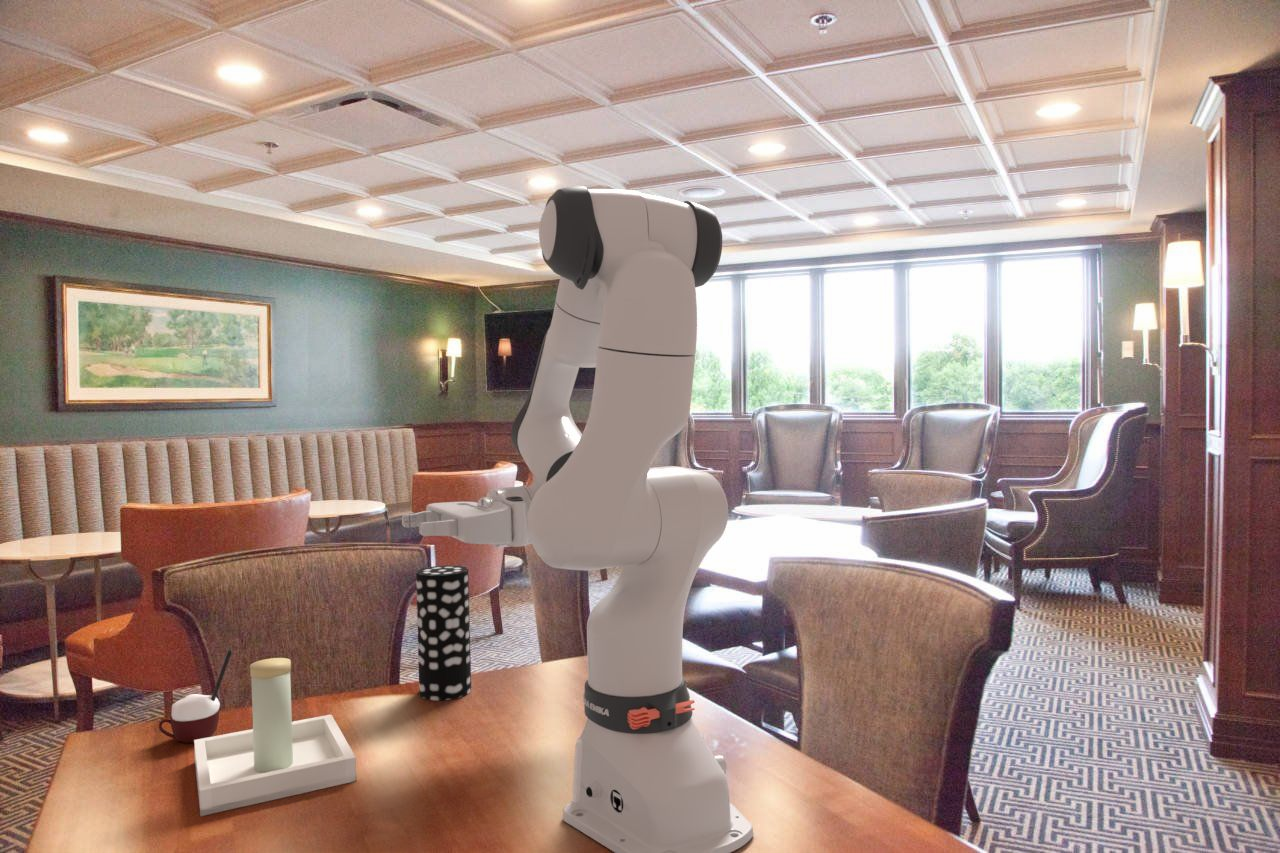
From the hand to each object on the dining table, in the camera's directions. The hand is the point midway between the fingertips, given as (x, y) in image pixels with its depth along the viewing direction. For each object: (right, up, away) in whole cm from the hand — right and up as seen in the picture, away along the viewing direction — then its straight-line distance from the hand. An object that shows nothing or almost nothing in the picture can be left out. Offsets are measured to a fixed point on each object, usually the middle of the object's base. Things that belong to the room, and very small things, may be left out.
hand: (411, 525), depth 120 cm
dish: (-15, -31, -10) cm, 36 cm away
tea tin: (-15, -30, -10) cm, 35 cm away
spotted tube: (0, -30, +19) cm, 35 cm away
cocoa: (-31, -31, +1) cm, 44 cm away
